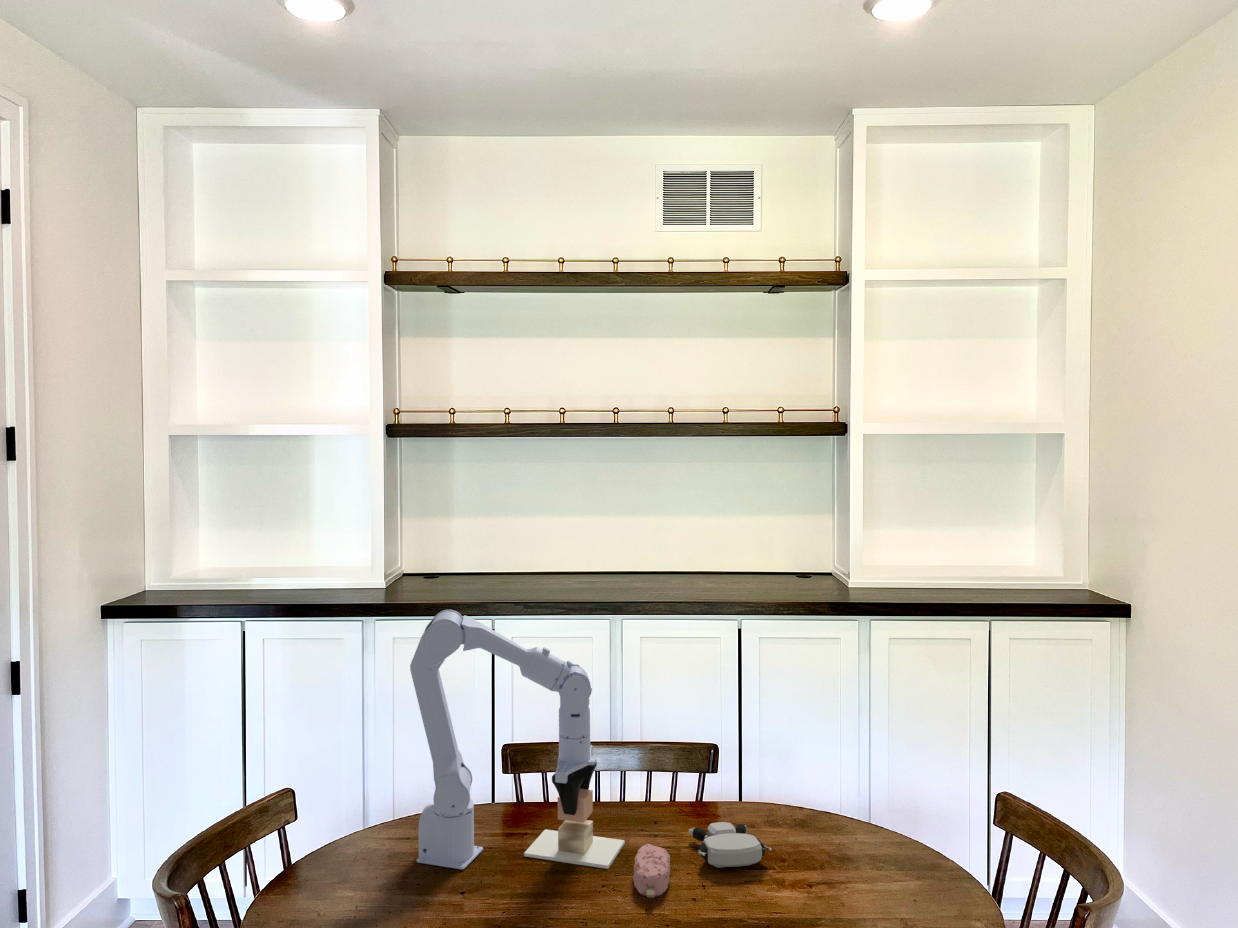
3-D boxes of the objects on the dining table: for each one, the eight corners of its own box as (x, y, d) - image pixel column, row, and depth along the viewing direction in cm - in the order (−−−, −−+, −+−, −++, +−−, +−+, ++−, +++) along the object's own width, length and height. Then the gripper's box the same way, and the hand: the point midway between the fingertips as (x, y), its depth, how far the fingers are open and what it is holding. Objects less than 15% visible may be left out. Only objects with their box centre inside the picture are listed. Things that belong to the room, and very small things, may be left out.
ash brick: (558, 850, 155) (558, 828, 155) (567, 838, 160) (567, 817, 160) (584, 854, 154) (584, 832, 154) (593, 841, 158) (592, 820, 158)
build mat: (524, 856, 154) (524, 852, 154) (545, 832, 164) (545, 829, 164) (608, 868, 150) (608, 865, 150) (624, 843, 159) (624, 840, 159)
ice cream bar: (630, 883, 137) (635, 839, 152) (631, 909, 137) (636, 863, 152) (669, 883, 137) (670, 839, 151) (670, 909, 137) (671, 863, 152)
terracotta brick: (557, 819, 155) (557, 797, 155) (567, 807, 160) (567, 786, 160) (583, 822, 153) (583, 800, 153) (592, 811, 158) (592, 789, 158)
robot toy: (685, 844, 161) (704, 878, 146) (684, 820, 161) (704, 851, 146) (747, 839, 163) (773, 872, 148) (747, 815, 163) (772, 845, 148)
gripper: (581, 749, 148) (582, 826, 148) (607, 723, 162) (608, 794, 162) (543, 745, 150) (544, 821, 151) (572, 720, 164) (573, 790, 164)
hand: (575, 807), depth 157 cm, fingers closed on terracotta brick, 5 cm apart
